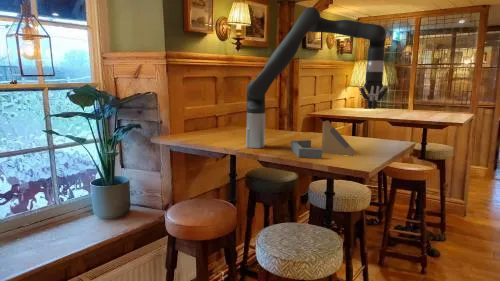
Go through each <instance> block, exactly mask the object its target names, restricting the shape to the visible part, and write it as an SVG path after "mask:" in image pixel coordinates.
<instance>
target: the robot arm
mask: <svg viewBox="0 0 500 281" xmlns="http://www.w3.org/2000/svg"><path fill="white" fill-rule="evenodd" d="M308 32H310V33H324V34H334V35H340V36H341V35H342V36H346V37H351V38H356V39H365V40H367V41H368V40H369V48H368V52H367V61H366V67H365V82H364V85H363V86H362V87H359V88H358V90H359V92H360V94H361V96H362V97H363V99H364V100H366V101H367V108H368V109H369V110H371V109H372V110H375V109H376V108H377V107H378V101H379V100H382V99H383V97H384V96H385V95H386V93H387V92H388V90H389V89H388V88H387V87H385V86H384V84H383V81H384V80H383V79H384V70H385V69H384V66H385V65H384V60H385V59H384V58H385V45H386V39H387V38H386V37H387V31H386V29H385V27H383V25H380V24H377V23H376V24H374V23H365V22H362V21H357V20H351V19H340V20H338V19H337V20H335V19H334V20H332V19H327V18H324V17H322V16H321V14H320V11H319V10H318V9H317V8H316V7H314V6H309V7H307V8H305V9H304V10H303V11H302V12H301V13H300V15H299V17H298V18H297V20H296V21H295V23H294V25H293V26H292V28H291V29H290V31H289V32H288V33H287V34H286V35H285V36H284V38H283V39H282V41H281V42H280V43H279V44H278V46H277V47H276V48H275V49H274V50H273V52H272V54H271V55H270V57H269V58H268V60H267V62H266V63H265V66H264V68H263V69H262V70H261V71H260V73H259V74H258V75H257V76H256V77H255V79H253V80H251V81H250V82H249V83H248V84H247V86H246V126H245V128H246V130H245V137H246V138H245V146H246V148H250V149H261V148H265V142H266V141H265V140H266V138H265V136H266V93H267V92H268V90H269V89H270V87H271V85H272V84H273V82H274V81H275V80H276V78H277V77H278V76H279V75H280V74H281V73H283V71H284V70H285V68H286V67H287V66H288V65H289V64H290V63H291V61H292V60H293V59H294V58H295V56H296V54H297V53H298V51H299V48H300V45H301V43H302V41H303V39H304V38H305V36H306V35H307V33H308Z"/></svg>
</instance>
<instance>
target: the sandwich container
mask: <svg viewBox="0 0 500 281" xmlns="http://www.w3.org/2000/svg"><path fill="white" fill-rule="evenodd" d="M321 134H322V136H321V149H322V154H326V155H337V156H344V155H348V156H347V157H355V156H356V155H357V154H356V153H357V151H356V150H355V148H353V147H352V146H351V145H350V143H348V141H347V140H346V139H345V138H344V137H343V136H342V135H341V134H340V132H339V131H338V130H337V129H336V128H335V127H334V125H332V123H331V122H330V121H329V119H328V120H325V121H322V133H321ZM354 155H355V156H354Z"/></svg>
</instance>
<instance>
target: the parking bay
mask: <svg viewBox="0 0 500 281" xmlns="http://www.w3.org/2000/svg"><path fill="white" fill-rule="evenodd" d="M290 150H291V151H292V152H293V153H294V154H295V155H296V157H297V158H303V159H305V158H307V159H323V153H322V148H316V147H315V148H314V147H312V140H311V139H303V140H302V139H301V140H290Z"/></svg>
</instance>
